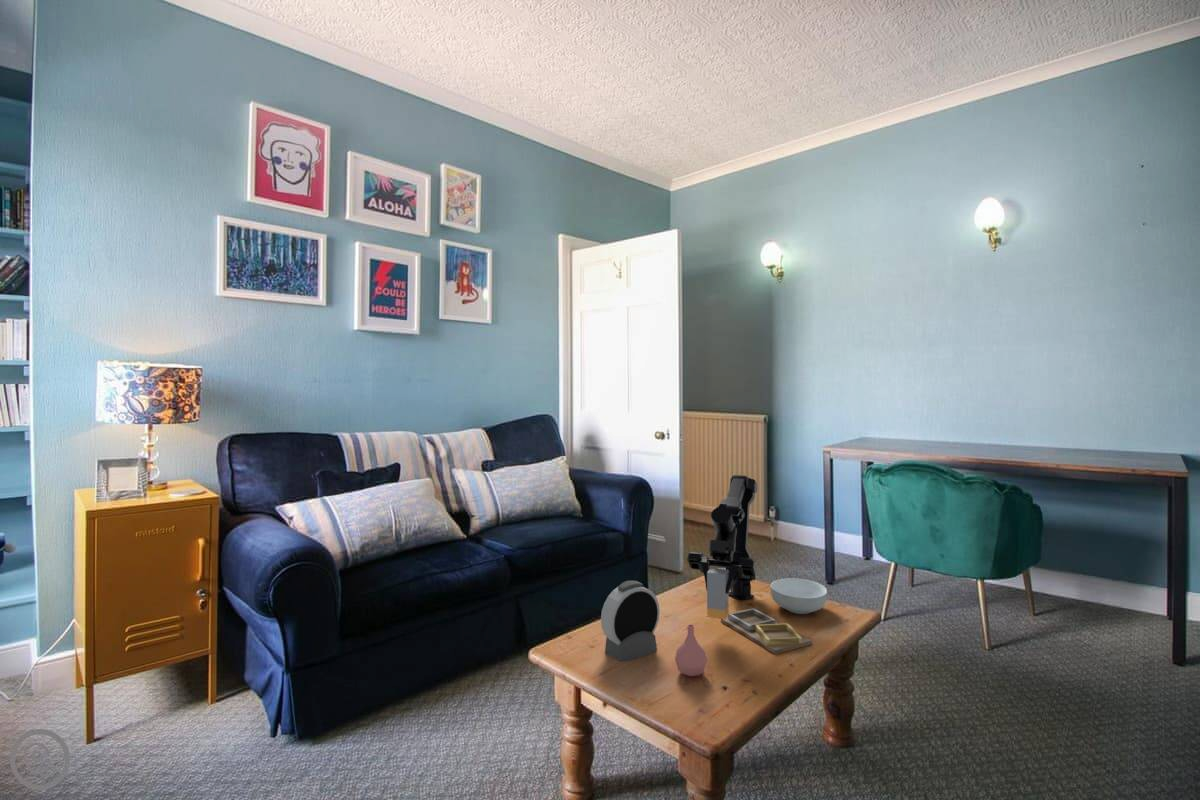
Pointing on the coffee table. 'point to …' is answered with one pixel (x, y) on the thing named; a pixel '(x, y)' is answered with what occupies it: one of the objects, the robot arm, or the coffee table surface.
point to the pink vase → (690, 655)
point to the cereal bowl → (799, 595)
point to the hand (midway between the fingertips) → (716, 591)
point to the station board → (766, 631)
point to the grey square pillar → (717, 593)
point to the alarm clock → (630, 621)
